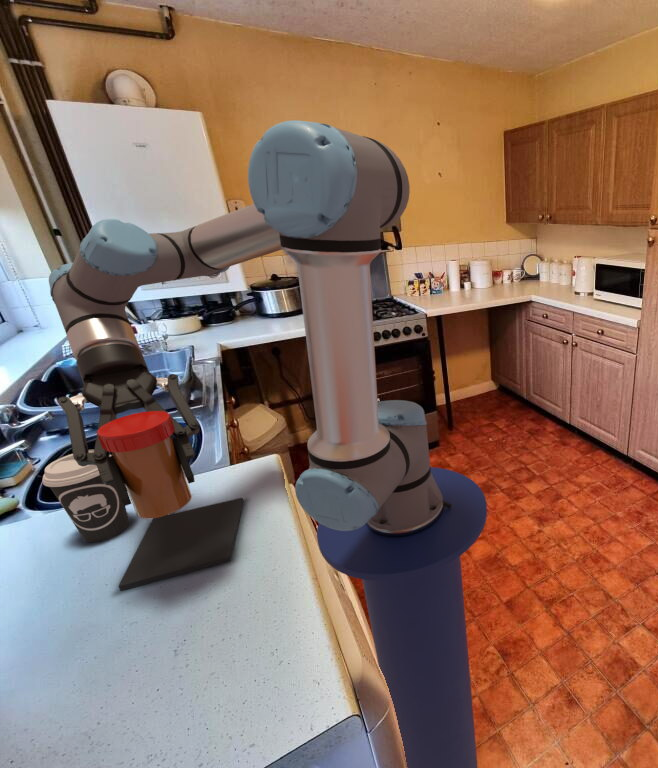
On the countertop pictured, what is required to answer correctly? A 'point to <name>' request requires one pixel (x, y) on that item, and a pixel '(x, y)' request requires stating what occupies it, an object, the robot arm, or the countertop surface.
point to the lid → (136, 431)
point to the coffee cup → (87, 499)
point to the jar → (154, 479)
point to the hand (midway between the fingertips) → (160, 490)
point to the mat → (185, 543)
